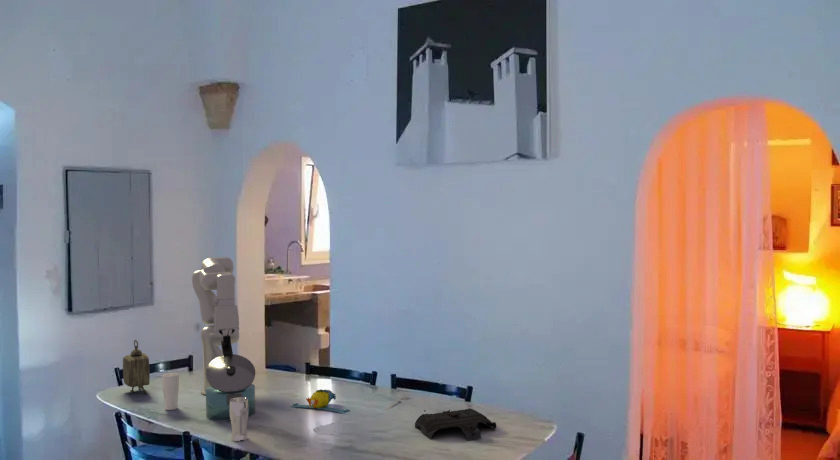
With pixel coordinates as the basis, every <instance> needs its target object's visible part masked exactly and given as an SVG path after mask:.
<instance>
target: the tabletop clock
mask: <svg viewBox="0 0 840 460" xmlns="http://www.w3.org/2000/svg"><path fill="white" fill-rule="evenodd" d="M133 345H134V347H133V348H134V349H133V350H131V351H130V352H131V353H130V354H127V355H125V356H124V357H122V378H123V383H124V384H125V385H126V386H127V387H130V388H131V389H130V391H129V392H130V393H131V394H133V393H135V390H134V389H135V388H137V389H139V390H141V389H142V392H143V394H146V395H147V393H148V391H147V390H146V389H145V388H144V386H149V385H150V378H151V377H150V373H151V372H150V359H149V356H148V355H147V354H146V353H145V352H142V350H140V349H139V342H138V340H137V339H134V340H133Z"/></svg>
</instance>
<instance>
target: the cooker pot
mask: <svg viewBox="0 0 840 460" xmlns="http://www.w3.org/2000/svg"><path fill="white" fill-rule="evenodd" d="M237 397H245V398H248V409H249V411H248V418H250V417H252V416H253V415H255V414H256V386H255V384H254V383H252V384H251V385H250V386H249V387H248V388H246V389H245V390H243V391H240V392H236V393H225V392H221V391H218V390H216V389H214V388H213V387H212V386H209V387H208V388H206V395H205V412H206V413H205V416H206V418H207V419H208V418H209V420H211V419H212V421H216V420H230V414H229V406H230V399H232V398H237ZM251 415H252V416H251ZM249 416H250V417H249Z"/></svg>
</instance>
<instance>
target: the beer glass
mask: <svg viewBox="0 0 840 460" xmlns="http://www.w3.org/2000/svg"><path fill="white" fill-rule="evenodd" d="M248 411H249V409H248V398H245V397H237V398H232V399H230V406H229V414H230V420H231V421H230V425H231V437H230V440H231V441H232V440H233V441H232V442H235V441H239V442H241V441H240V440H244V441H246V440H245V439H247V438H249V435H248V429H247V428H248V427H247V426H248V421H249V420H248V419H249V417H248ZM247 440H248V439H247Z"/></svg>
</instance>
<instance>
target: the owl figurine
mask: <svg viewBox="0 0 840 460" xmlns="http://www.w3.org/2000/svg"><path fill="white" fill-rule="evenodd" d="M336 399H337V395H336V393H334V392H333V391H331V390H330V389H321V388H320V389H318V390H317V389H316V390H315V392H313V393H312V395H311V396H310V397H306V398H305V400H306V401H307V403H308V404H298V403H293V404H292V405H290V406H289V408H305V409H318V410H325V411H328V412H335V413H338V414H343V415H345V414H346V413H347V412H348V411H350V412H351V410H350V409H342V408H337V407H331V406H328V405H329V404H330V403H331V401H332V400H336Z"/></svg>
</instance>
